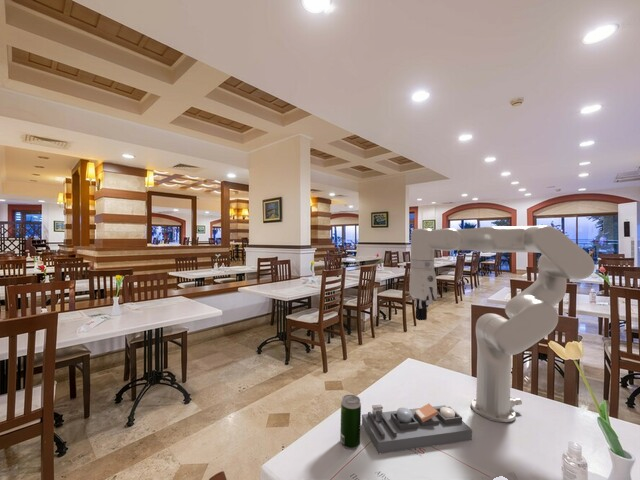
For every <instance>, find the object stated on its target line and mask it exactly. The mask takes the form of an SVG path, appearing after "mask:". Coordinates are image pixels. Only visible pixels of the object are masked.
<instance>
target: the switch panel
mask: <svg viewBox="0 0 640 480" xmlns="http://www.w3.org/2000/svg"><path fill="white" fill-rule="evenodd" d="M432 407H433V408H434V409H435V410H436V411H437V412H438V415H436V416H434V417H432V418H430V419H429V420H427V421H425V422H422V421H421V420H420V419H419V418H418V417H417V415H416V414H415V412H414V411H416V410H417V409H419V408H420V407H419V408H410V409H409V408H408V409H409V410H410V411H411V412H412V421H411V422H410V423H403V422H400V421H399V420H398V419H397V410H393V411H392V410H391V411H384V412H383V411H382V421H376V420H375V418H374V417H373V415H372V412H371V411H369V412H368V411H367V413H364V414H361V425H362V427H363V429H364V431H365V433H366V435H367V436H368V438H369V440H370V442H371V443H372V445H373V448H375V451H376V452H377V454H378V455H379V454H387V453H393V452H401V451H406V450H407V451H408V450H415V449H421V448H429V447H436V446H441V445H442V446H443V445H449V444H455V443H462V442H469V441H470V442H471V441H472V440H473V429H472V428H471V427H470V426H469V425H468V424H467V423H466V422H464V421H463V417H462V416H461V415H460V414H459V413H458V412H456V411H455V417H453V418H445V417H444V416H442V415H441V414H440V408H442V407H448V408H451V409H452V410H454V409H453V408H452V407H451V406H446V405H435V406H432Z"/></svg>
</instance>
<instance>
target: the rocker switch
mask: <svg viewBox="0 0 640 480" xmlns="http://www.w3.org/2000/svg"><path fill="white" fill-rule="evenodd" d="M433 407H434V406H432V405H431V404H430V403H427V404H425V405H423V406H422V407H421V406H420V407H419V409H417V410H416V411H414V412H415V414H416V415H417V417H418V418H419V419H420V420H421V421H422V422H425V421H427V420H429V419H430V418H432V417H434V416H436V415H438V412H437V411H436V410H435V409H434V408H433Z"/></svg>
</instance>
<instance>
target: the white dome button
mask: <svg viewBox="0 0 640 480" xmlns="http://www.w3.org/2000/svg"><path fill="white" fill-rule="evenodd" d="M448 407H449V406H446V407H442V408H440V414H441V415H442V416H444V417H445V418H453V417H455V412H456V410H455V409H453V408H452V407H451V408H452V409H453V410H452V409H451V408H448Z"/></svg>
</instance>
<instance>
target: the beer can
mask: <svg viewBox="0 0 640 480" xmlns="http://www.w3.org/2000/svg"><path fill="white" fill-rule="evenodd" d="M361 425H362V402H361V399H360V397H359V396H357V395H356V394H355V395H354V394H345V395H343V396H342V399H341V402H340V428H339V430H340V434H339V435H340V437H339V438H340V439H339V441H340V444H341V446H342V448H344V449H347V450H350V451H353V450H356V449H357V448H359V446H360V444H361Z"/></svg>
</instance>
